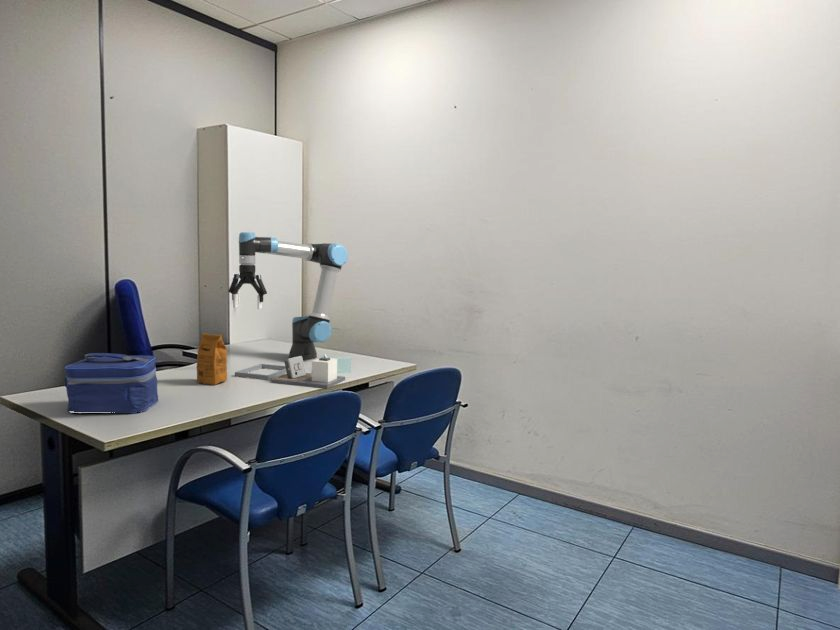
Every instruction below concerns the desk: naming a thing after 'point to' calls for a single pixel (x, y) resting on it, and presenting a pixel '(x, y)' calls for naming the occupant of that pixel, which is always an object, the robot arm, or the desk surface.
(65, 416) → the desk surface
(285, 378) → the power dock
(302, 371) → the electrical switch
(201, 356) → the coffee package
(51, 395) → the desk surface
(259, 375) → the tray frame
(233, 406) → the desk surface
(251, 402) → the desk surface
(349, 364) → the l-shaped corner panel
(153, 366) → the lunch bag
